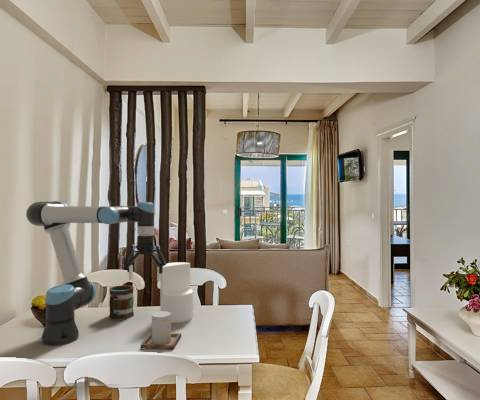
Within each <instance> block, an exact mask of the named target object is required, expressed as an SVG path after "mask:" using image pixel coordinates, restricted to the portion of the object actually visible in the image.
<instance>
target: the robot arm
mask: <svg viewBox="0 0 480 400" xmlns="http://www.w3.org/2000/svg"><path fill="white" fill-rule="evenodd" d="M154 205H155V204H154V203H153V202H151V201H150V202H149V201H146V202H143V201H142V202H140V201H139V202H137V205H136V206H133V205H131V206H130V205H129V206H127V205H117V206H88V205H87V206H86V205H85V206H83V205H82V206H80V205H79V206H77V205H75V206H74V205H73V206H72V205H71V206H69V205H68V204H66V203H65V202H62V201H56V200H53V201H35V202H34V203H32V204H30V205H29V206H28V207H27V209H26V214H25V216H26V219H27V221H28V222H29V223H30V224H32V225H34V226H37V227H43V229H44V232H45V233H47V234H49V236H50V240H51V243H52V246H53V249H54V252H55V255H56V259H57V262H58V265H59V268H60V272H61V275H62V277H63V282H62V284H59V285H55V286H52V287H50V288H49V289H48V290H47V291H46V293H45V300H44V301H45V302H44V303H45V325H44V329H43V332H42V334H41V338H40V339H41V340H40V341H41V344H42V345H44V346H49V347H50V346H61V345H62V346H63V345H66V344H70V343H73V342H74V341H75V342H76V340H78V339H79V336H80V332H79V329H78V326H77V322H76V319H75V311H77V310H79V309H82V308H84V307H86V306H87V305H89V304H91V303H93V300H94V299H95V297H96V294H97V293H96V292H97V290H96V286H95V284H94V282H92V281H91V280H89V279H88V276H87V275H86V274H83V272H82V267H81V265H80V263H79V259H78V255H77V252H76V249H75V246H74V244H73V240H72V237H71V233H70V229H69V227H70V226H71V224H104V225H112V224H119V223H137V225H136V226H137V229H136V231H137V233H136V234H137V236H136V244H130V247H129V251H128V252H127V254H126V257H125V258H124V261H123V263H122V264H123V265H124V266H126V267H127V268H126V269H127V270H126V272H127V273H128V281H132V280H133V278H134V265H133V263H134V262H135V261H136V260H137V259H138V258H139V256H140V255H141V256H144V255H146V256H148V255H149V256H150V257H151V258H152V259H153V261H154V262H155V264H156V265H157V268H156V270H157V271H156V281H157V282H160V279H161V274H162V272H163V266H165V265H166V264H167V261H166V258H165V257H164V254H163V253H162V251H161V245H155V244H154V234H155V232H154V230H155V229H154V228H155V222H154V221H155V220H154V219H155V218H154V217H155V207H154ZM135 250H136V252H135V254H134V255H133V253H134V251H135ZM153 250H155V251H156V253H157V255H158V256H157V255H156V253H155V252H154V251H153ZM132 255H133V256H132ZM158 257H159V258H158Z"/></svg>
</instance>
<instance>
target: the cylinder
mask: <svg viewBox="0 0 480 400" xmlns="http://www.w3.org/2000/svg"><path fill="white" fill-rule="evenodd" d="M166 263H167V262H166ZM159 282H160V283H159V284H160V286H159V287H160V288H159V289H160V290H159V291H160V299H159V301H160V302H159V303H160V308H159V309H160V311H166V312H170V313H171V324H172V323H173V324H175V323H184V322H188V321H191V320H192V319H193V318H194V290H193V289H192V288H191V262H185V261H183V262H182V261H181V262H180V261H178V262H177V261H176V262H168V263H167V264H166V265H165V266H163V272H162V274H161V279H160V281H159ZM160 311H159V312H160Z"/></svg>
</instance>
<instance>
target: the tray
mask: <svg viewBox="0 0 480 400" xmlns="http://www.w3.org/2000/svg"><path fill="white" fill-rule="evenodd" d="M181 338H182V333H181V332H179V333H178V332H171V342H170V343H168V344H153V343H152V332H150V334H148V336H147V337H146V338H145V339H144V340H143V341H142V342H141V343H140V349H141V348H145V349H144V350H170V351H171V350H172V351H173V350H174V349H175V348H176V346H177V345H178V343H179V342H180V340H181Z"/></svg>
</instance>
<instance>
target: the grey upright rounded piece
mask: <svg viewBox="0 0 480 400" xmlns="http://www.w3.org/2000/svg"><path fill="white" fill-rule="evenodd" d="M151 333H152V343H153V344H168V343H170V342H171V333H172V323H171V313H170V312H166V311H156V312H153V313H152V314H151Z"/></svg>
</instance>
